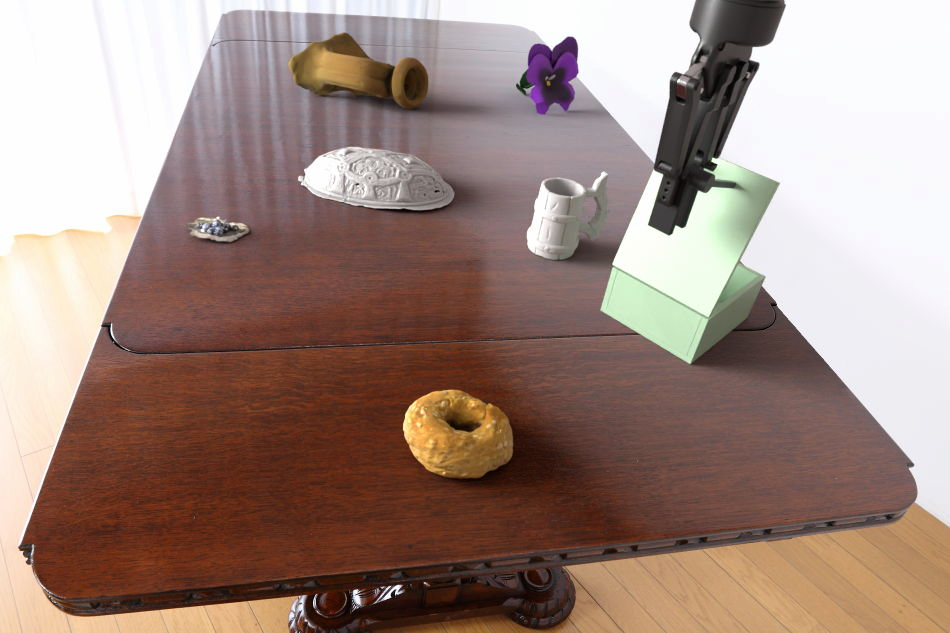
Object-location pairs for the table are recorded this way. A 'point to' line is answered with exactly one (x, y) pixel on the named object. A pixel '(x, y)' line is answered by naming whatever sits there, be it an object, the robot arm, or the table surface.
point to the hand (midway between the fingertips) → (666, 225)
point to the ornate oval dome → (376, 179)
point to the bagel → (457, 434)
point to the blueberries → (217, 229)
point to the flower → (551, 74)
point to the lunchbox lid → (698, 235)
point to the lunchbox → (680, 312)
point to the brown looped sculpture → (358, 72)
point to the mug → (565, 216)
